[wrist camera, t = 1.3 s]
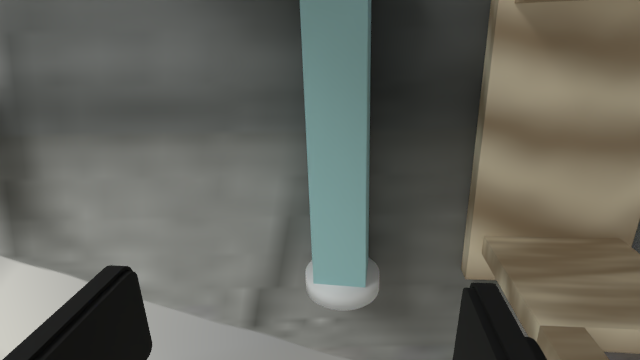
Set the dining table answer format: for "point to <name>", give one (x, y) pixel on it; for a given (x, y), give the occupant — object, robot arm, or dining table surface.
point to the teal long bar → (338, 150)
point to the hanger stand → (560, 173)
